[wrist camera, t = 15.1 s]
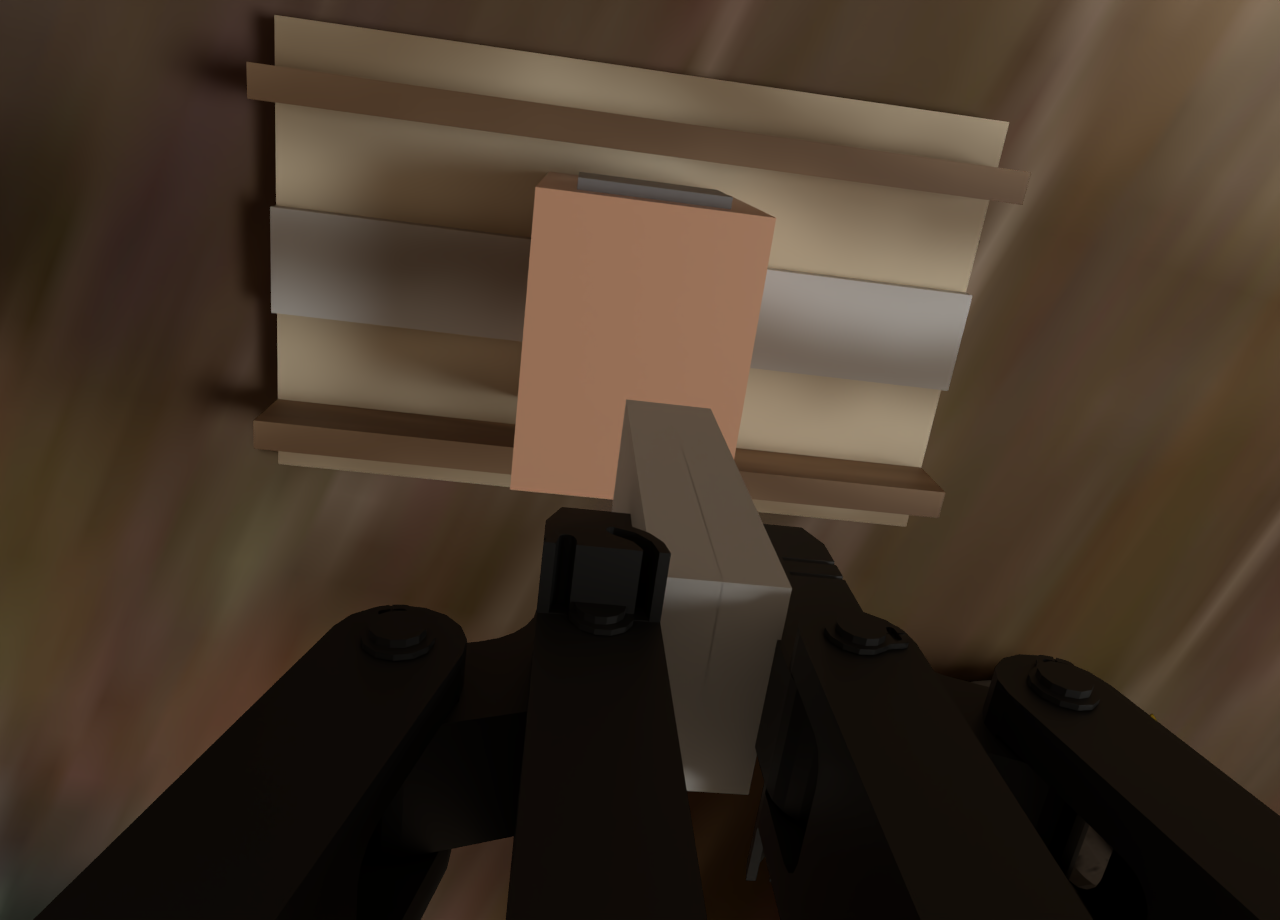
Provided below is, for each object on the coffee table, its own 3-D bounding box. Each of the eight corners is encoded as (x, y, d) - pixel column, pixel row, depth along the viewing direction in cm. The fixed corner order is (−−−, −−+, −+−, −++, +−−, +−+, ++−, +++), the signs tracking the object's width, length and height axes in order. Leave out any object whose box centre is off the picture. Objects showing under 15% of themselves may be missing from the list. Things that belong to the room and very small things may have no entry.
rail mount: (896, 514, 36) (928, 555, 33) (288, 452, 34) (254, 489, 30) (994, 122, 31) (1044, 121, 28) (286, 19, 29) (245, 4, 25)
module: (693, 422, 32) (724, 510, 25) (528, 404, 32) (509, 489, 24) (730, 185, 30) (778, 205, 22) (550, 161, 29) (536, 174, 22)
